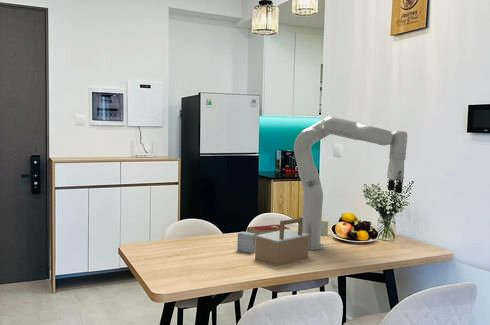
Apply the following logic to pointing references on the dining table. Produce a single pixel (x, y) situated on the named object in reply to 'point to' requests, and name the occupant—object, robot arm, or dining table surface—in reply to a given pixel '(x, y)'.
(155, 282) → the dining table surface
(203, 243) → the dining table surface
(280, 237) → the carton lid
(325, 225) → the candy box
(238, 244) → the medicine box
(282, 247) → the carton
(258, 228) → the hardcover book
